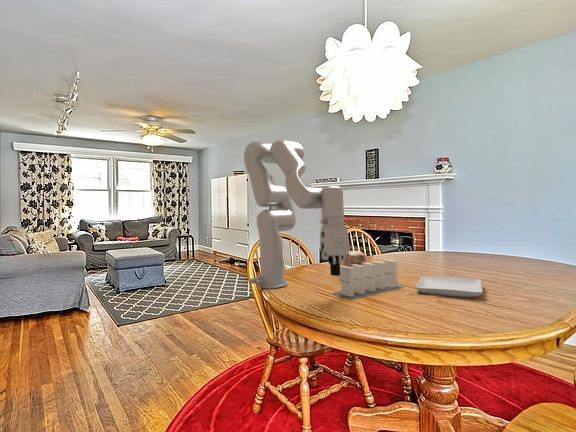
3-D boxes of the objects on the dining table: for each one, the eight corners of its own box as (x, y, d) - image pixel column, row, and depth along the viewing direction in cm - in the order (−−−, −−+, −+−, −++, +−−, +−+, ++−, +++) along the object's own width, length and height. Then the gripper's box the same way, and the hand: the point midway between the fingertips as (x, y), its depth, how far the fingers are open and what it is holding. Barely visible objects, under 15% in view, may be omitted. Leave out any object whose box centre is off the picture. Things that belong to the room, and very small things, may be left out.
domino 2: (361, 294, 124) (361, 266, 124) (351, 291, 128) (351, 264, 128) (365, 293, 125) (364, 266, 125) (355, 290, 129) (354, 264, 129)
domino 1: (350, 296, 121) (349, 268, 121) (340, 294, 125) (340, 266, 125) (353, 296, 122) (353, 267, 122) (344, 293, 126) (343, 266, 126)
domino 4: (382, 289, 130) (382, 263, 130) (372, 287, 134) (372, 261, 134) (385, 288, 131) (385, 262, 131) (375, 286, 135) (374, 260, 135)
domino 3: (372, 291, 127) (371, 264, 127) (362, 289, 131) (361, 263, 131) (375, 291, 128) (375, 264, 128) (365, 288, 132) (365, 262, 132)
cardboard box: (342, 274, 163) (342, 248, 163) (356, 273, 163) (355, 248, 163) (351, 284, 142) (350, 254, 141) (366, 284, 142) (365, 254, 141)
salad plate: (415, 295, 123) (414, 286, 123) (422, 283, 142) (421, 275, 142) (483, 302, 113) (483, 291, 113) (481, 287, 132) (481, 278, 132)
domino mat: (352, 300, 117) (352, 299, 117) (330, 294, 127) (330, 293, 127) (405, 288, 133) (405, 286, 133) (382, 283, 142) (382, 282, 142)
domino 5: (394, 287, 133) (394, 261, 132) (384, 285, 137) (383, 259, 136) (397, 286, 133) (397, 261, 133) (387, 284, 138) (386, 259, 137)
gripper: (323, 223, 112) (325, 279, 112) (356, 221, 120) (358, 273, 121) (309, 223, 118) (311, 276, 119) (341, 221, 127) (344, 271, 127)
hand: (335, 275), depth 120 cm, fingers closed
